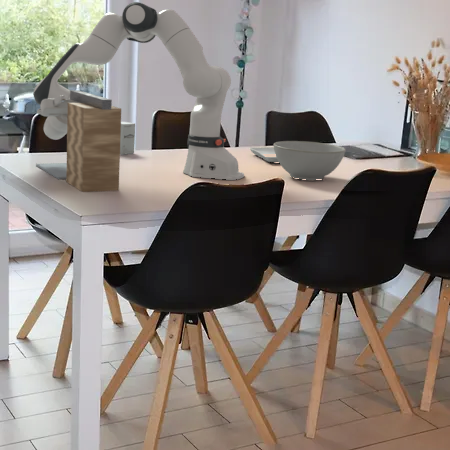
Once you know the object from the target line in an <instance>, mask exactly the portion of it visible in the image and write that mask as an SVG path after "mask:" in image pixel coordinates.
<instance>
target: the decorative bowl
mask: <svg viewBox="0 0 450 450" xmlns="http://www.w3.org/2000/svg"><path fill="white" fill-rule="evenodd" d="M273 148H274V151H275V154H276V157H277V159H278V161H279V163H280V164H279V165H280V166H281V167H282V168H283V170H284V171H286V172H287V173H288V174H289V176H291V177H294V178H299V179H306V180H316V179H322V178H323V179H324V178H325V177H326V176H328V175H330V174H331V173H333V172H334V171H335V170H336V168H337V167H338V166H339V165H340V163H341V162H342V160H343V158H344V156H345V154H346V150H347V149H346V148H344V147H343V146H340V145H336V144H331V143H323V142H316V141H303V140H302V141H301V140H300V141H298V140H283V141H276V142H274V143H273ZM291 177H290V178H291Z"/></svg>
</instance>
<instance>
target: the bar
mask: <svg viewBox="0 0 450 450" xmlns="http://www.w3.org/2000/svg"><path fill="white" fill-rule="evenodd" d="M69 90H70V89H69ZM70 99H71V100H74V101H77V102H80V103H83V104H86V105H89V106H93V107H96V108H99V109H102V110H111V106H113V104H112V103H113V102H112V99H111V98H107V97H103V96H100V95H98V94H97V95H96V94H93V93H89V92H85V91H82V90H76V89H75V90H72V89H71V90H70Z"/></svg>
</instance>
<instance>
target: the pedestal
mask: <svg viewBox="0 0 450 450" xmlns="http://www.w3.org/2000/svg"><path fill="white" fill-rule="evenodd" d="M121 122H122V108H120V107H117V106H113V105H111V110H102V109H99V108H96V107H93V106H89V105H86V104H83V103H68V113H67V134H66V163H67V172H66V179H65V180H66V183H67V184H69V185H70V186H73V187H74V188H75V189H77V190H79V191H81V192H83V193H91V192H112V191H113V192H114V191H115V192H117V191H120V186H119V185H120V164H121V163H120V160H121V155H120V137H121Z"/></svg>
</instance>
